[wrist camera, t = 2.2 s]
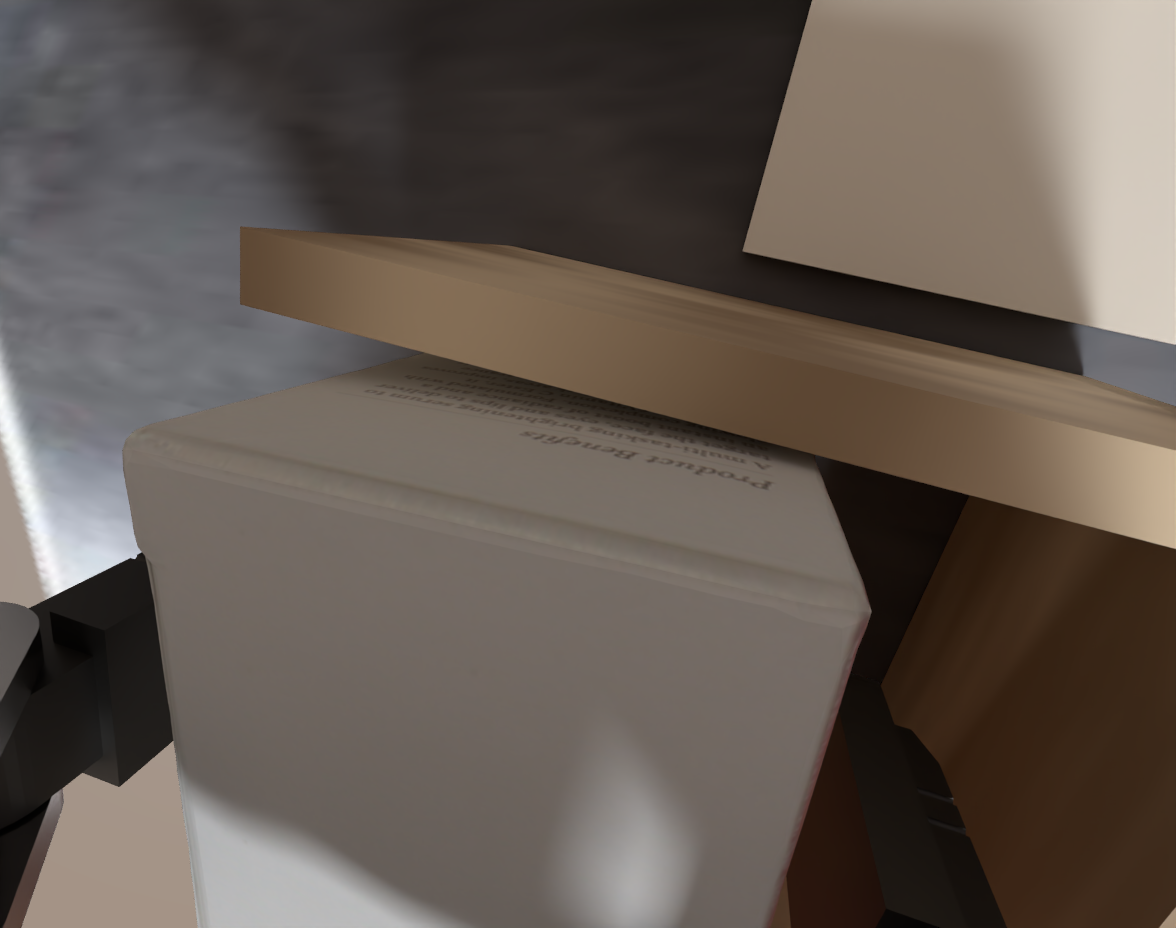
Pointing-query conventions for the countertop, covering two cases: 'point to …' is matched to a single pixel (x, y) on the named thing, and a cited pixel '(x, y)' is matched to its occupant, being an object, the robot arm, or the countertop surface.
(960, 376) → the box
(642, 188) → the countertop surface
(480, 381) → the small box
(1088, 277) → the tile
